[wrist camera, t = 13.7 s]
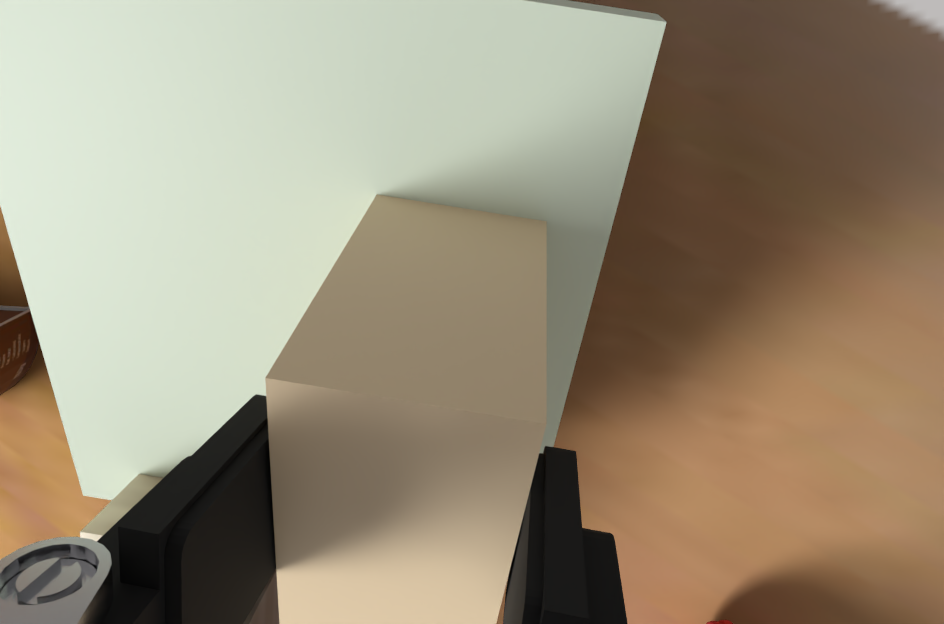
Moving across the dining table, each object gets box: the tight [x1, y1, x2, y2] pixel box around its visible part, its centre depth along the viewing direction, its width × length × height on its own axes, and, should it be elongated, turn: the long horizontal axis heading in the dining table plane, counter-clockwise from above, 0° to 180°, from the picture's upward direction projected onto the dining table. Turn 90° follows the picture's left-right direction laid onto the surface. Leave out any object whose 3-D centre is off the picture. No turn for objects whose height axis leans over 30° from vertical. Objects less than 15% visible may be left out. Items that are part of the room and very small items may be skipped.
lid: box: [0, 0, 666, 624], centre depth 15 cm, size 15×17×8 cm
